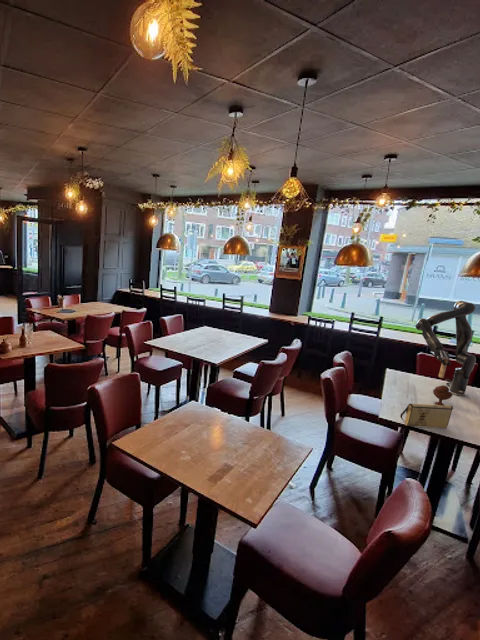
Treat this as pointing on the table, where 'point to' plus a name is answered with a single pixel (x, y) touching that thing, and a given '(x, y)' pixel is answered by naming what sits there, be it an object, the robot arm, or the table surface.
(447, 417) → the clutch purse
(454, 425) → the table surface
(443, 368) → the stirring stick
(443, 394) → the ice cream bowl
